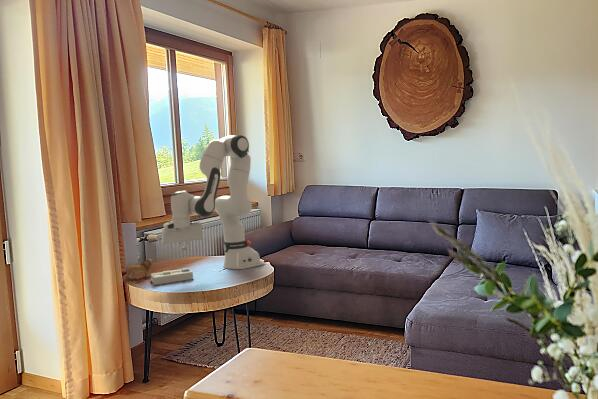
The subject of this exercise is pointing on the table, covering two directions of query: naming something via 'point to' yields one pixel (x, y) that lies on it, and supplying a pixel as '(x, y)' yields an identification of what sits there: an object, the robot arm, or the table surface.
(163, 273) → the key sage
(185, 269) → the key slate
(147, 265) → the lion figurine
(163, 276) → the keypad
